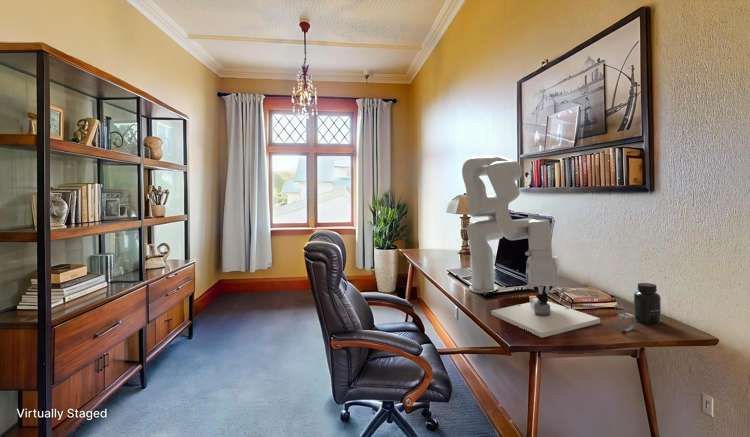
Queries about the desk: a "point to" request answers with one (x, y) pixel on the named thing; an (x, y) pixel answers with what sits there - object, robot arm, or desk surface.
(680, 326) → the desk surface
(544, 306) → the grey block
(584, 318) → the dial plate
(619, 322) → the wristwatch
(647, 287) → the supplement bottle
